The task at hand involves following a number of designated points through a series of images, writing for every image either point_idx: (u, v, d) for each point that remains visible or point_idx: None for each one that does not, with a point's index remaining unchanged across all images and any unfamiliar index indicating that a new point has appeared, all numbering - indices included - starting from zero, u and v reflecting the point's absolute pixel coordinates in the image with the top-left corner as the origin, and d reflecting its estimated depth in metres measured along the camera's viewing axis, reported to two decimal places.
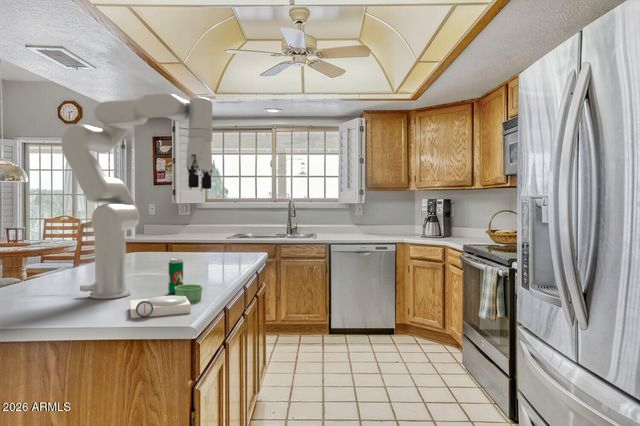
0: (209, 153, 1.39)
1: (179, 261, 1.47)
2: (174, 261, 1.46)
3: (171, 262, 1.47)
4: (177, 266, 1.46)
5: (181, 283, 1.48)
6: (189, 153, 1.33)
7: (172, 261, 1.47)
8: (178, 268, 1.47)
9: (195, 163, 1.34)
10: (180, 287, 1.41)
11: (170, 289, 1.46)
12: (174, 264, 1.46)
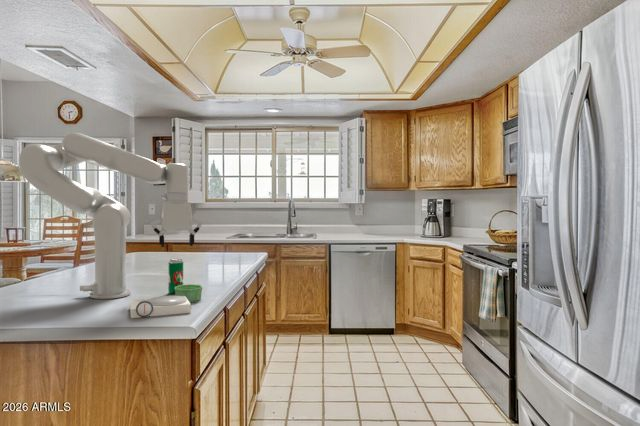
0: None
1: (179, 261, 1.47)
2: (174, 261, 1.46)
3: (171, 262, 1.47)
4: (177, 266, 1.46)
5: (181, 283, 1.48)
6: (191, 215, 1.49)
7: (172, 261, 1.47)
8: (178, 268, 1.47)
9: None
10: (180, 287, 1.41)
11: (170, 289, 1.46)
12: (174, 264, 1.46)
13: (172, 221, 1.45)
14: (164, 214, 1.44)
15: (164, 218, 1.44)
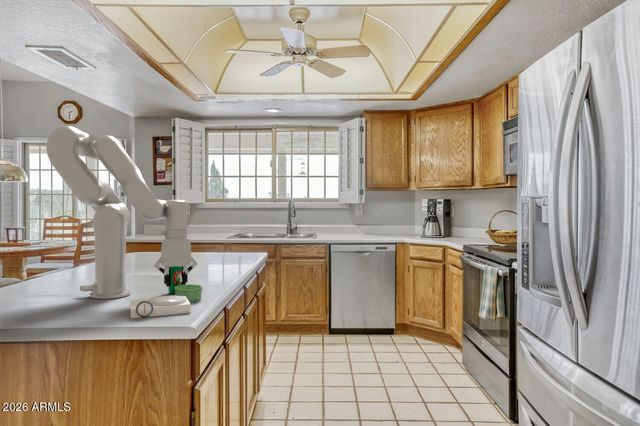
0: None
1: None
2: None
3: None
4: None
5: (181, 283, 1.48)
6: None
7: None
8: (178, 268, 1.47)
9: None
10: (180, 287, 1.41)
11: (170, 289, 1.46)
12: None
13: (171, 258, 1.45)
14: (163, 251, 1.44)
15: (163, 255, 1.44)
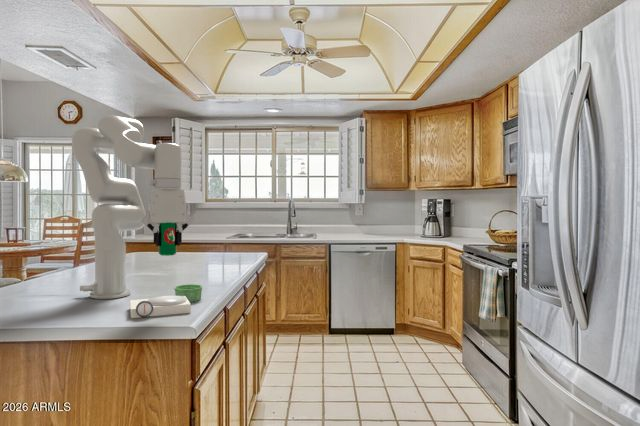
0: None
1: None
2: None
3: None
4: None
5: (174, 243, 1.24)
6: (185, 206, 1.26)
7: None
8: (170, 224, 1.23)
9: None
10: (180, 287, 1.41)
11: (161, 250, 1.23)
12: None
13: (162, 212, 1.21)
14: (152, 203, 1.21)
15: (152, 208, 1.21)
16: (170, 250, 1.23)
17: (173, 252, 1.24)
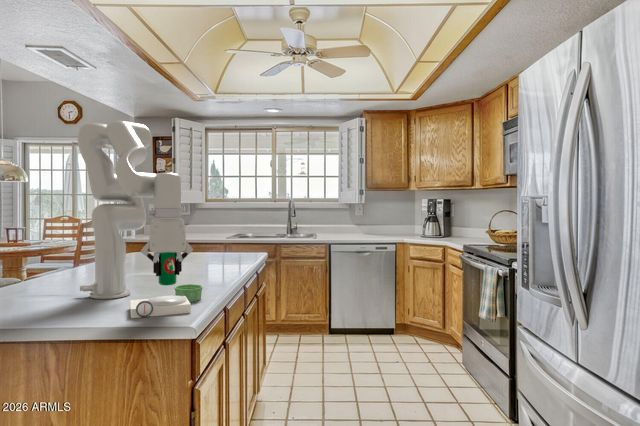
0: None
1: None
2: None
3: None
4: (169, 252, 1.22)
5: (174, 272, 1.24)
6: (185, 235, 1.25)
7: None
8: (170, 254, 1.23)
9: None
10: (180, 287, 1.41)
11: (161, 280, 1.22)
12: None
13: (162, 242, 1.21)
14: (152, 234, 1.20)
15: (152, 238, 1.20)
16: (170, 280, 1.23)
17: (173, 282, 1.23)
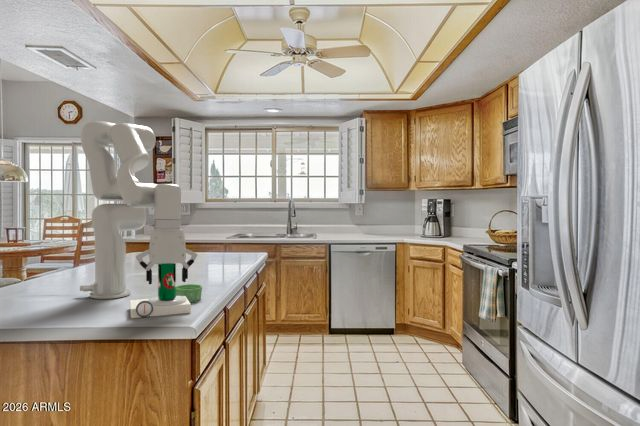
0: None
1: None
2: None
3: None
4: (168, 267, 1.23)
5: (173, 287, 1.24)
6: (185, 246, 1.25)
7: None
8: (169, 269, 1.23)
9: None
10: (180, 287, 1.41)
11: (160, 295, 1.23)
12: (164, 264, 1.23)
13: (161, 253, 1.21)
14: (151, 245, 1.20)
15: (152, 250, 1.20)
16: (169, 295, 1.23)
17: (172, 297, 1.24)
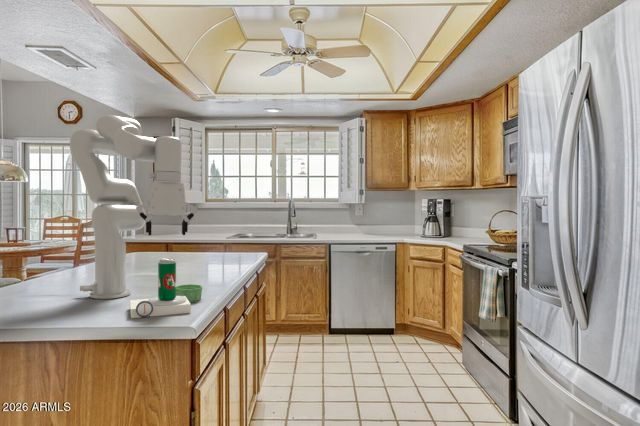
0: None
1: (171, 261, 1.23)
2: (165, 261, 1.23)
3: (161, 263, 1.23)
4: (168, 267, 1.23)
5: (173, 288, 1.24)
6: None
7: (162, 261, 1.23)
8: (169, 270, 1.23)
9: None
10: (180, 287, 1.41)
11: (160, 295, 1.23)
12: (164, 265, 1.22)
13: (161, 205, 1.22)
14: (151, 196, 1.22)
15: (152, 201, 1.22)
16: (169, 296, 1.23)
17: (172, 297, 1.24)
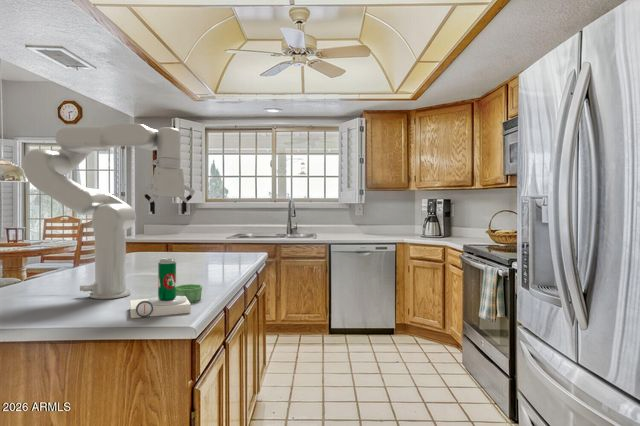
0: None
1: (171, 261, 1.23)
2: (165, 261, 1.23)
3: (161, 263, 1.23)
4: (168, 267, 1.23)
5: (173, 288, 1.24)
6: None
7: (162, 261, 1.23)
8: (169, 270, 1.23)
9: None
10: (180, 287, 1.41)
11: (160, 295, 1.23)
12: (164, 265, 1.22)
13: (163, 187, 1.40)
14: (155, 180, 1.39)
15: (155, 184, 1.39)
16: (169, 296, 1.23)
17: (172, 297, 1.24)
